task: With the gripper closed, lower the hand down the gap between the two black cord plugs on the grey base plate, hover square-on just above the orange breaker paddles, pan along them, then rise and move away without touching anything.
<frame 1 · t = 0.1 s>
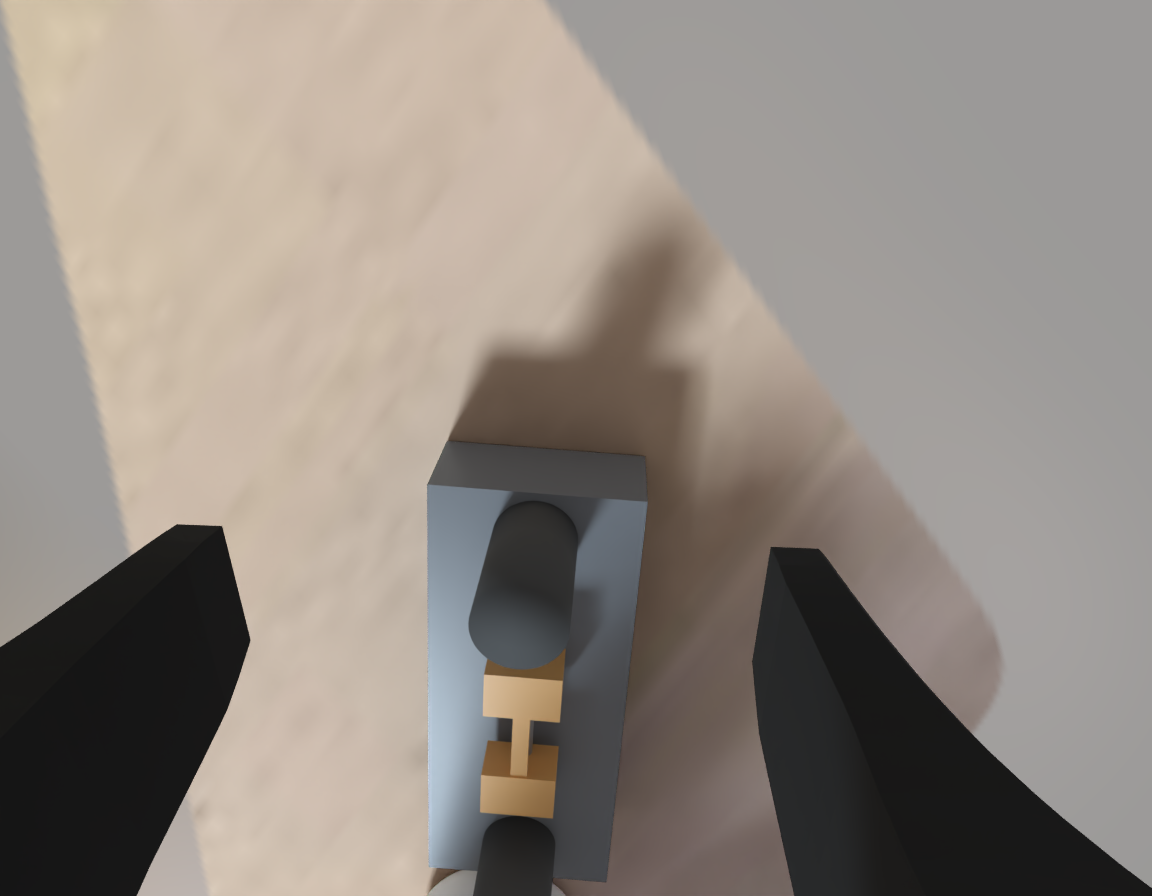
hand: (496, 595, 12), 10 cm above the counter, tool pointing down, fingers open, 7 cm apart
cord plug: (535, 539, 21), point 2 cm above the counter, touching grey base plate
breaker paddles: (522, 731, 22), point 4 cm above the counter, hinge at 0.0°
grey base plate: (535, 644, 25), on the counter
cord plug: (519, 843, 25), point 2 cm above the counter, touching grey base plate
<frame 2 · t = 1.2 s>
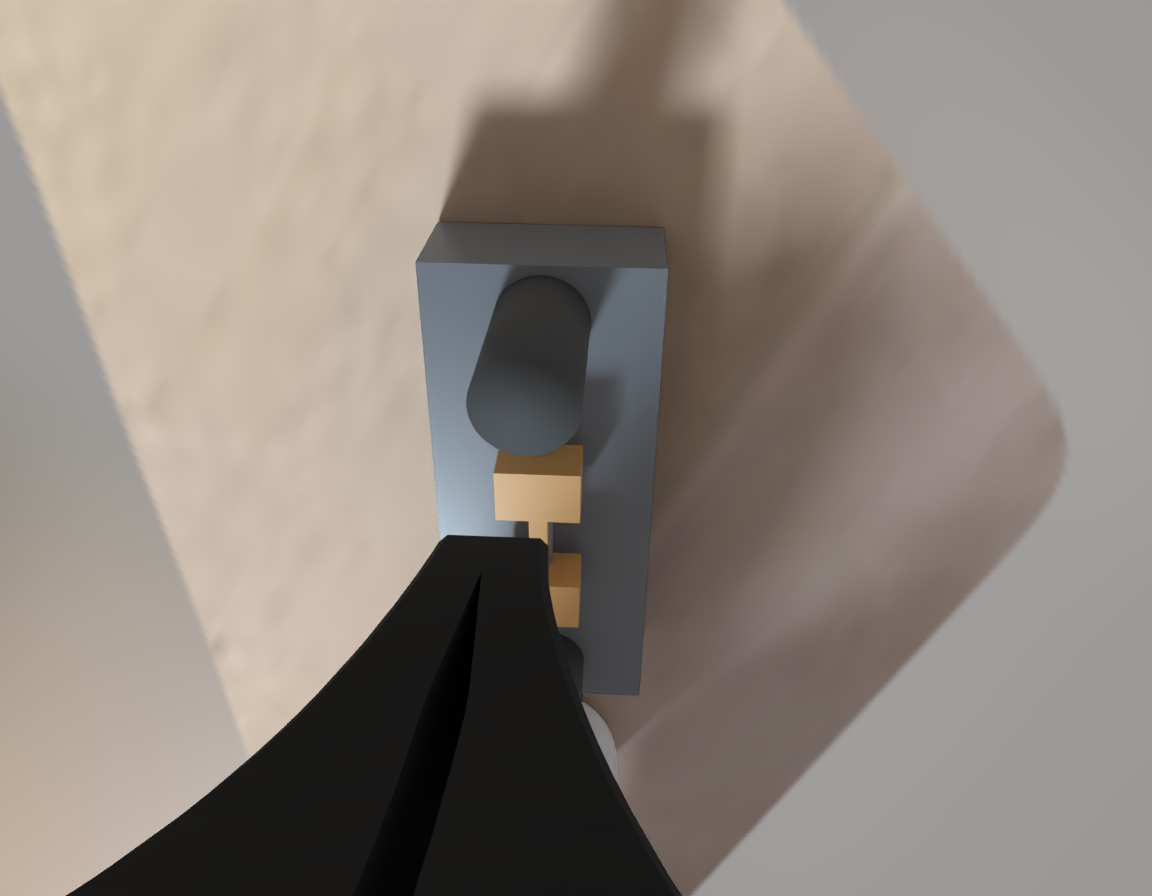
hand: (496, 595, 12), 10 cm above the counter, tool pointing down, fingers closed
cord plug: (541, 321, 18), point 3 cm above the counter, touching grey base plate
breaker paddles: (540, 537, 20), point 4 cm above the counter, hinge at 0.0°
drinking glass: (534, 730, 29), on the counter
grey base plate: (551, 453, 23), on the counter
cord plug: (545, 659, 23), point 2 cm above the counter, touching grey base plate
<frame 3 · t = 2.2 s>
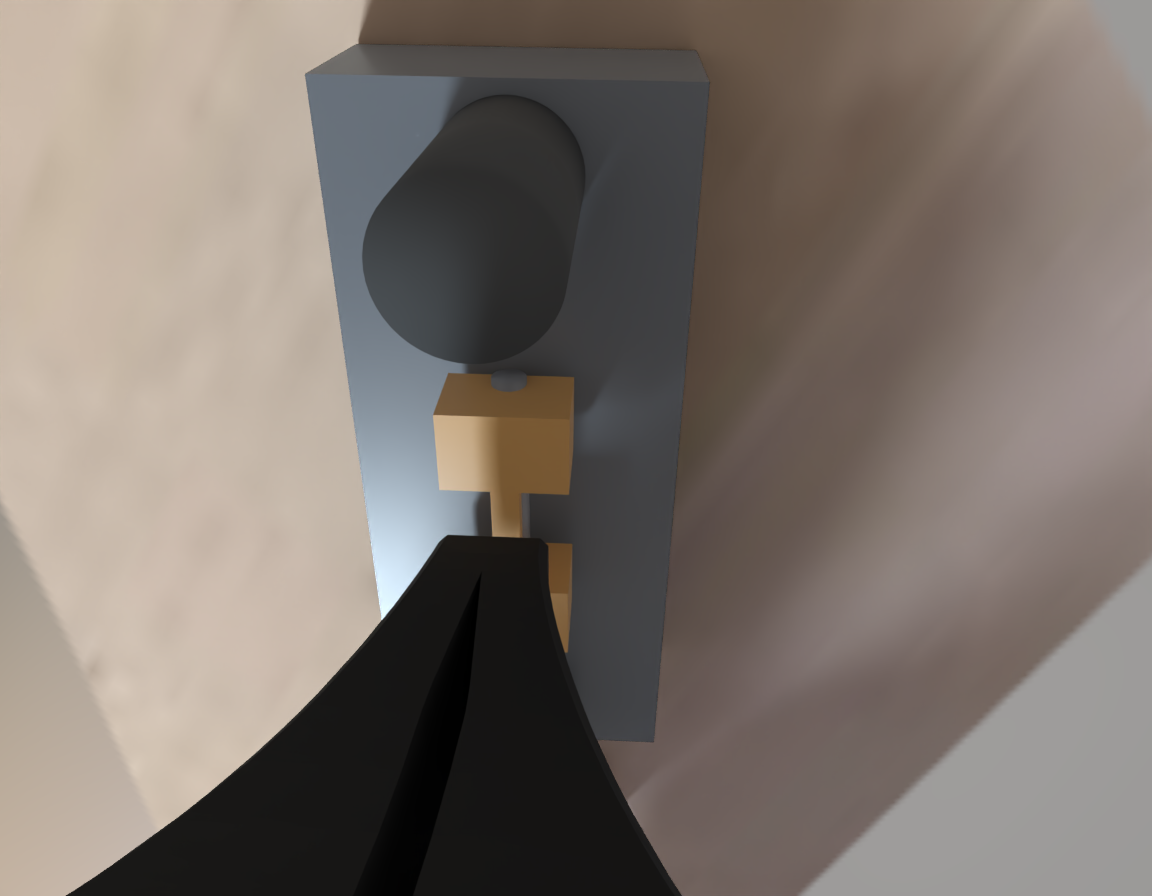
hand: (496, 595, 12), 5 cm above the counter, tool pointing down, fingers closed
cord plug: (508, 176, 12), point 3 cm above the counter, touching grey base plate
breaker paddles: (510, 518, 13), point 3 cm above the counter, hinge at 0.0°
grey base plate: (531, 404, 16), on the counter
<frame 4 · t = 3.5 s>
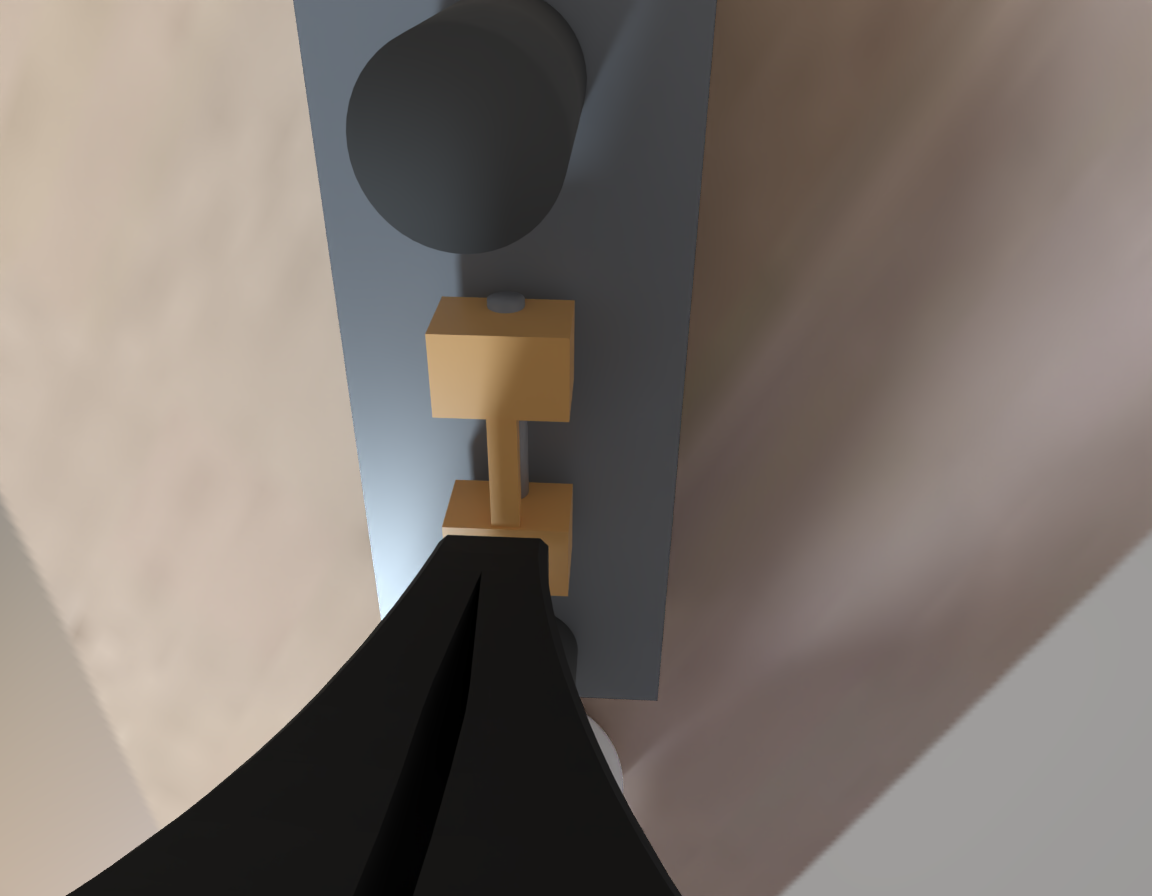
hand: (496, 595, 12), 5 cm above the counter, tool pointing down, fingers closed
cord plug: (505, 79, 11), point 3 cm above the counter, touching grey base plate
breaker paddles: (507, 453, 13), point 4 cm above the counter, hinge at 0.0°
drinking glass: (512, 746, 22), on the counter
grey base plate: (530, 345, 16), on the counter
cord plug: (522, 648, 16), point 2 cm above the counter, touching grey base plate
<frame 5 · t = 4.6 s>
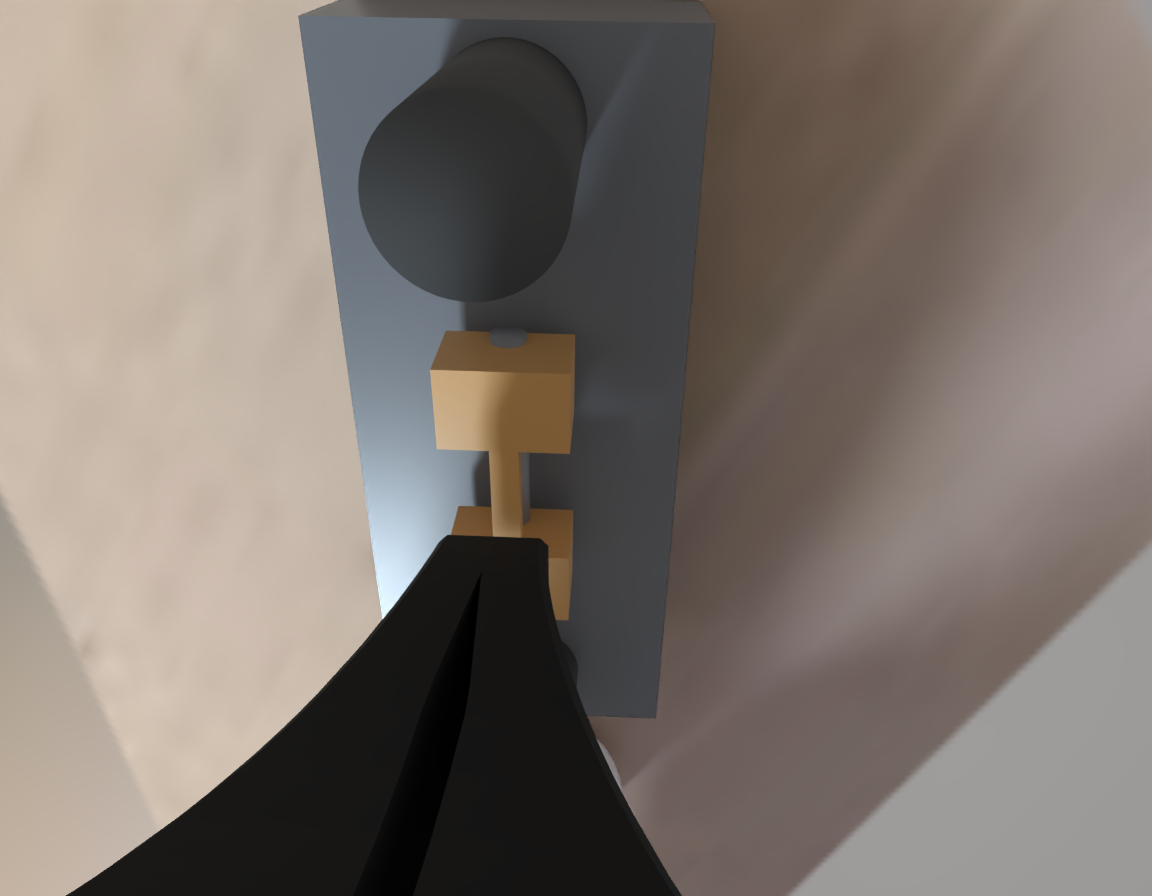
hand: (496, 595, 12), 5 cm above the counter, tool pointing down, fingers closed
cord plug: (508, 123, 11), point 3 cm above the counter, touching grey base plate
breaker paddles: (509, 481, 13), point 4 cm above the counter, hinge at 0.0°
grey base plate: (531, 371, 16), on the counter
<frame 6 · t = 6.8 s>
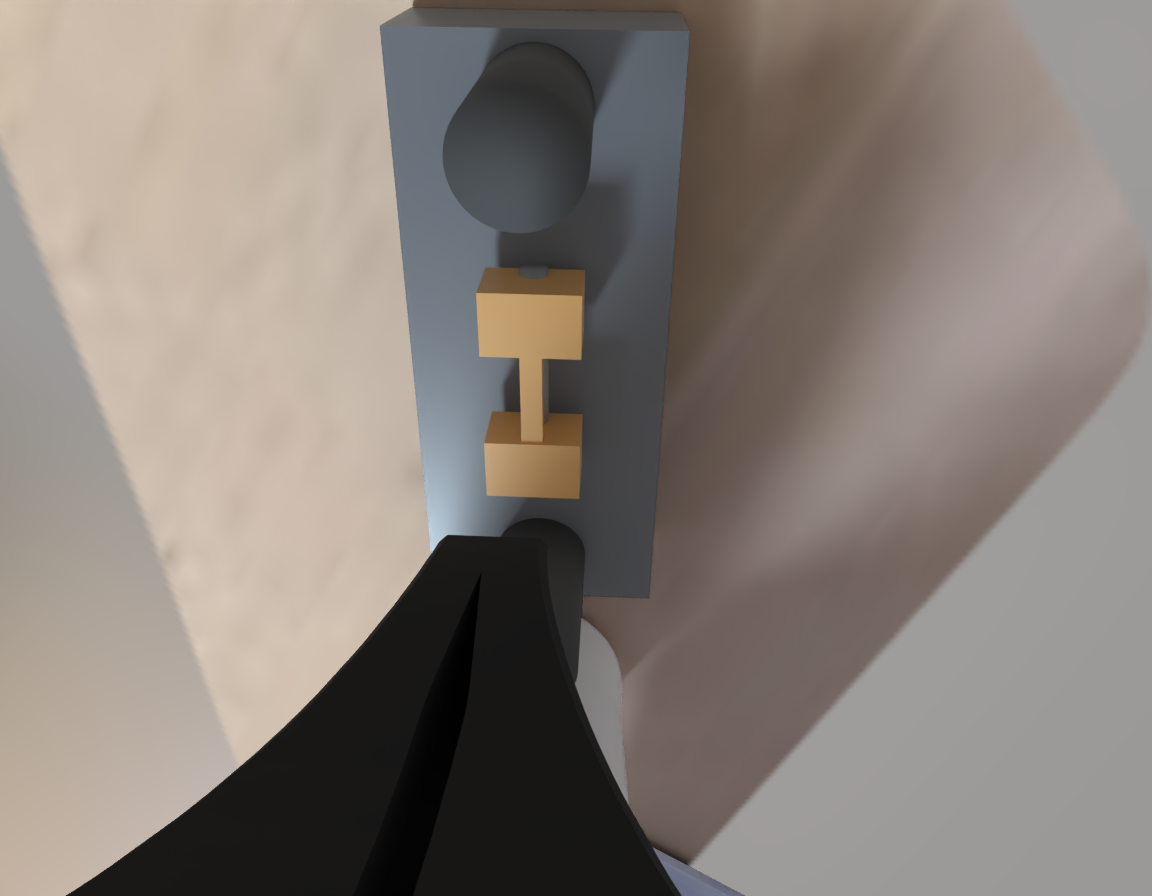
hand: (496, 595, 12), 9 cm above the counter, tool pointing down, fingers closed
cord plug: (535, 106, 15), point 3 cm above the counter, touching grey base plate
breaker paddles: (533, 387, 17), point 4 cm above the counter, hinge at 0.0°
drinking glass: (528, 656, 26), on the counter
grey base plate: (547, 311, 20), on the counter
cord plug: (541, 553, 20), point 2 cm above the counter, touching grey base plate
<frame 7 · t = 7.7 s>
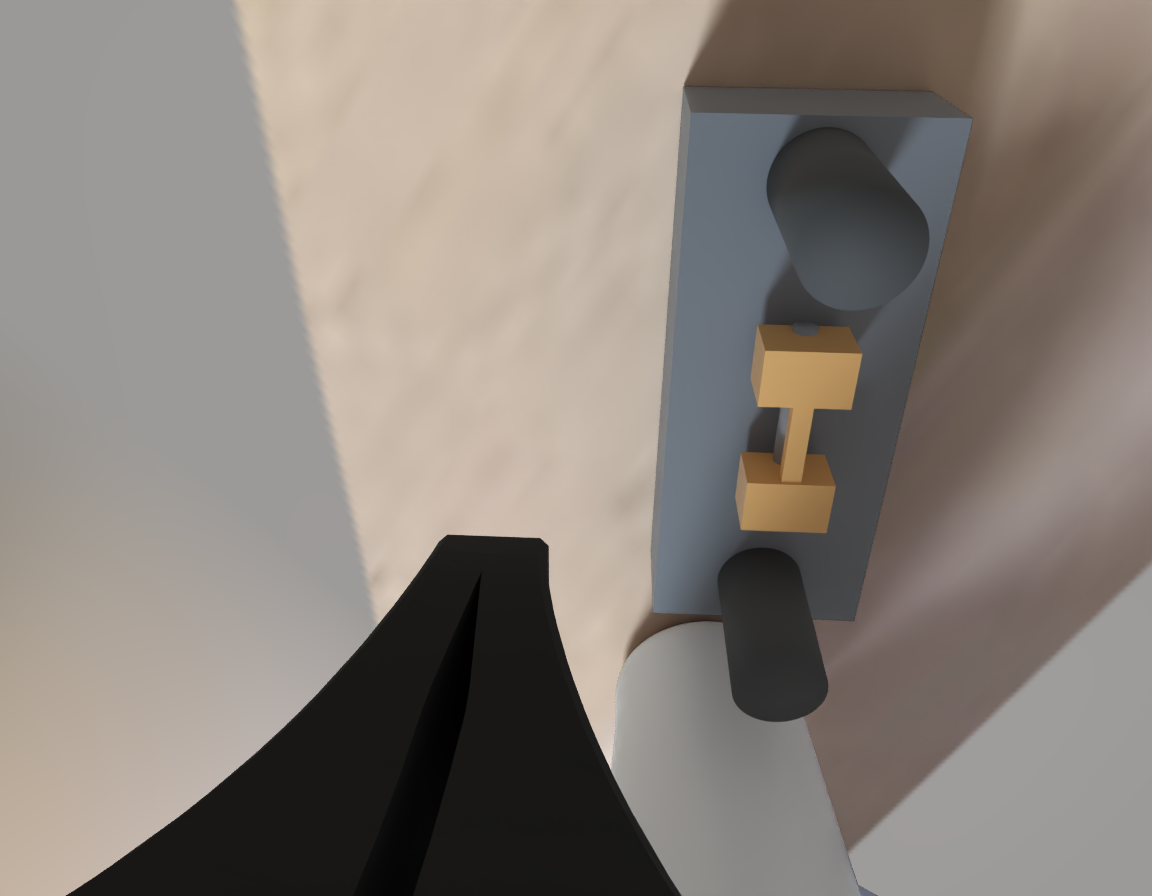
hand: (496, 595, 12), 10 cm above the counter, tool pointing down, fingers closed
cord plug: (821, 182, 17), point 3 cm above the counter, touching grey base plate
breaker paddles: (793, 432, 18), point 4 cm above the counter, hinge at 0.0°
drinking glass: (703, 672, 27), on the counter
grey base plate: (769, 356, 21), on the counter
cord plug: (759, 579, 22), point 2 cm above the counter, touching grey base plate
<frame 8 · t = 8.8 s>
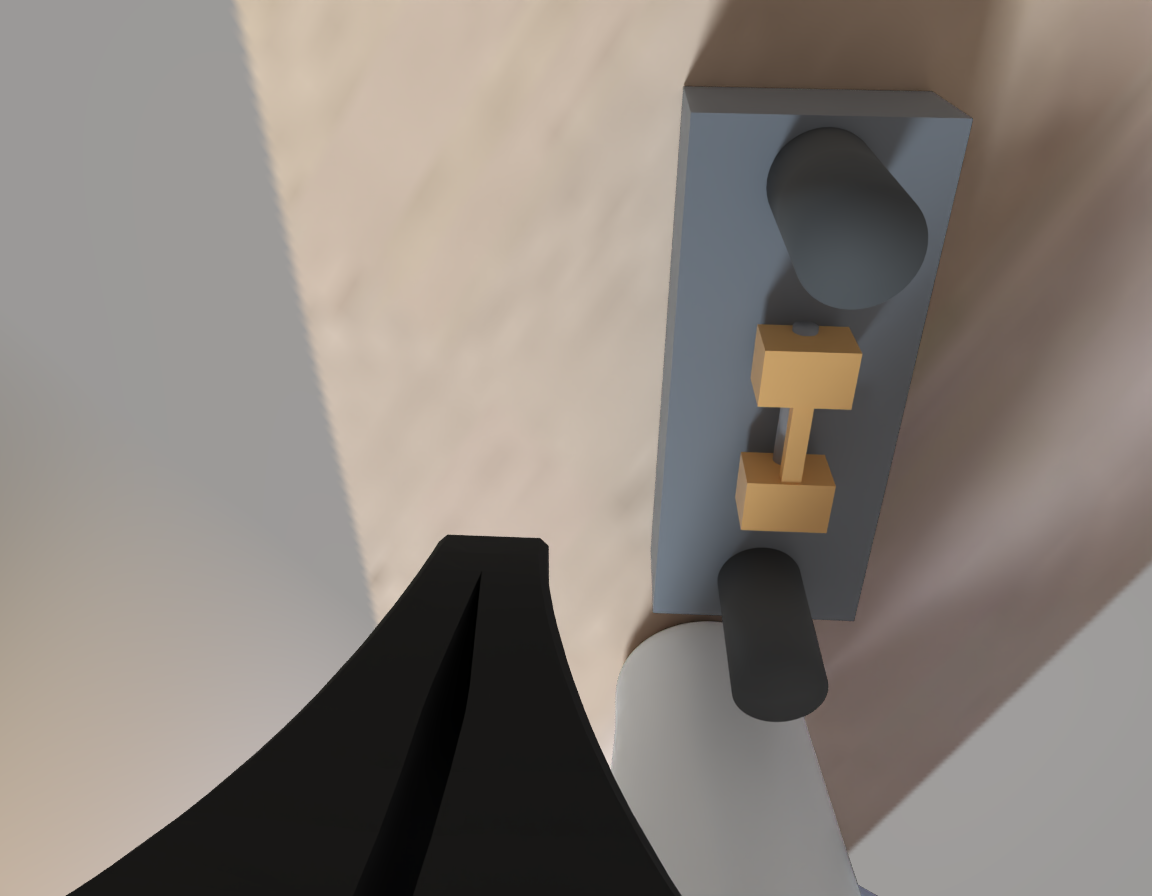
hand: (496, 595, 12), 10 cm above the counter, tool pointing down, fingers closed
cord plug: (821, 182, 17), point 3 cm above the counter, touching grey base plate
breaker paddles: (793, 432, 18), point 4 cm above the counter, hinge at 0.0°
drinking glass: (703, 672, 27), on the counter
grey base plate: (769, 356, 21), on the counter
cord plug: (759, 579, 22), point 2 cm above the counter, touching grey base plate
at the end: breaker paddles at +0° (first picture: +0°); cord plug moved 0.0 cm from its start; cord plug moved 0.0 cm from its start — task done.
